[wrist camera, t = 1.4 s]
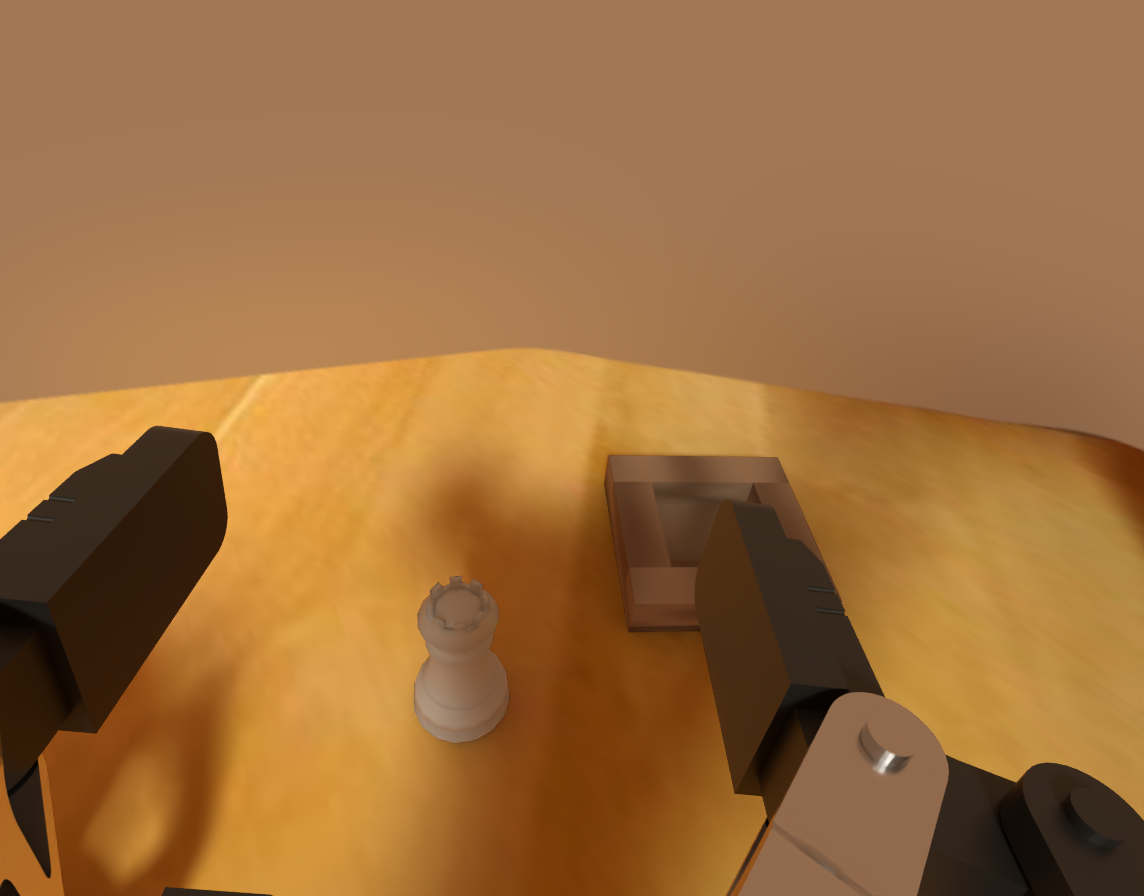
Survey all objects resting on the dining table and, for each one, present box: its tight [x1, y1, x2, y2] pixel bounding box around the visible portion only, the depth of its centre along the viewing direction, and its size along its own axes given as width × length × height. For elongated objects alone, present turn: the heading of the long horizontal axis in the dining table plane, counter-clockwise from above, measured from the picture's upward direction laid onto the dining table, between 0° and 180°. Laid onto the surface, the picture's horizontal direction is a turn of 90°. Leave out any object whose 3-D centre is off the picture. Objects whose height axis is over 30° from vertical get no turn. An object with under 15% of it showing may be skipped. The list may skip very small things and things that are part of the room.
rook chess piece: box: [414, 576, 510, 743], centre depth 29 cm, size 4×4×8 cm
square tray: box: [604, 455, 842, 632], centre depth 39 cm, size 11×11×2 cm
